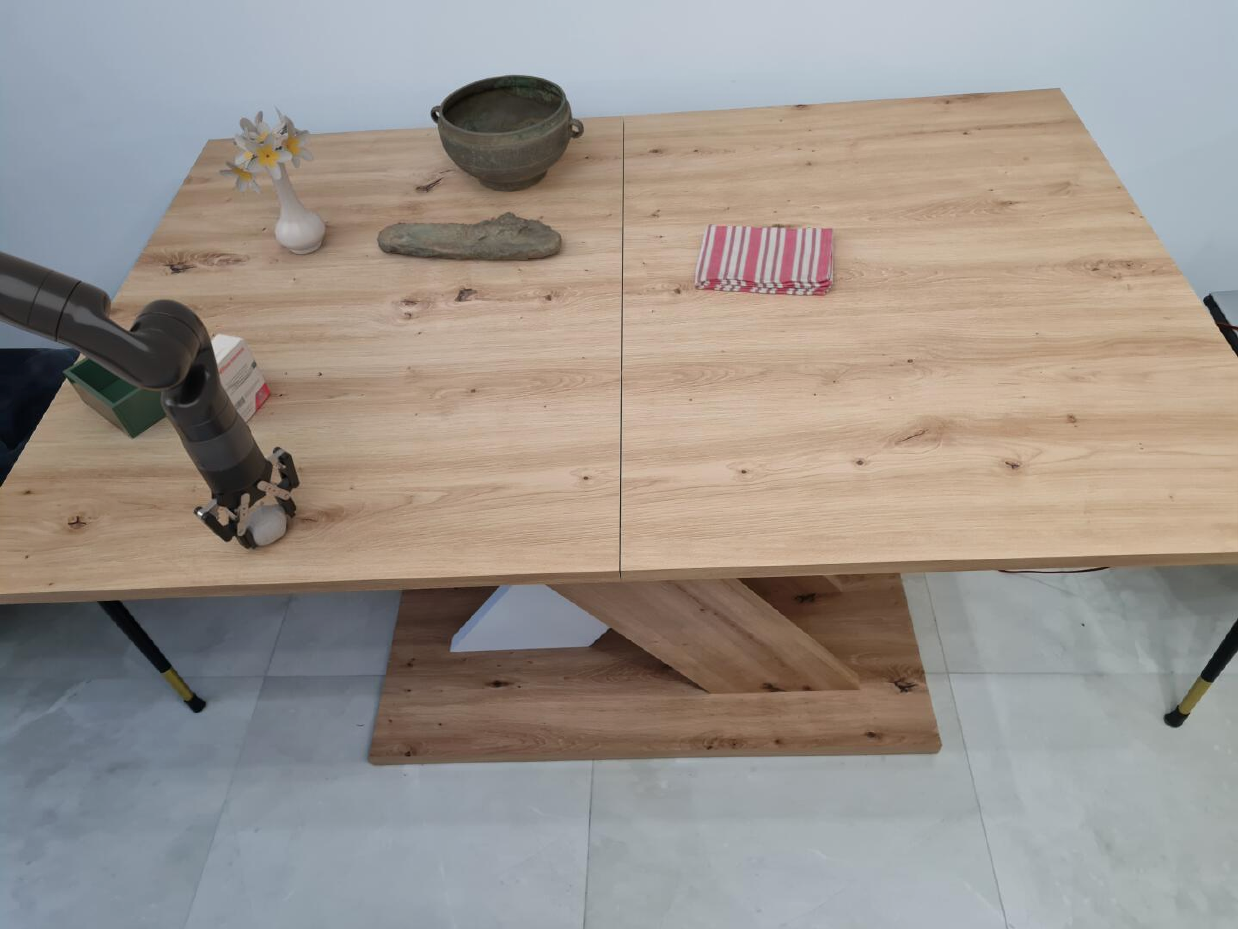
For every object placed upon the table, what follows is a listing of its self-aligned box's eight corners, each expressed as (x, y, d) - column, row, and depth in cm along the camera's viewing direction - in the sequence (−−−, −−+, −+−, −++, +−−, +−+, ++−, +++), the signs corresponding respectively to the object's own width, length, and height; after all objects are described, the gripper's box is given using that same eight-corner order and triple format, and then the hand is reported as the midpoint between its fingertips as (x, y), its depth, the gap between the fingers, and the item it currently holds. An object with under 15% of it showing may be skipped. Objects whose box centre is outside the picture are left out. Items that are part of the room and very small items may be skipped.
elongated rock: (392, 235, 174) (376, 268, 168) (382, 211, 170) (366, 245, 164) (567, 231, 167) (557, 266, 161) (562, 207, 163) (552, 241, 157)
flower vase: (254, 276, 166) (198, 150, 147) (293, 219, 178) (245, 96, 159) (321, 278, 164) (272, 151, 145) (355, 220, 176) (314, 96, 157)
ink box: (247, 387, 145) (217, 330, 136) (272, 393, 144) (244, 336, 135) (214, 424, 140) (181, 367, 131) (240, 430, 138) (209, 373, 130)
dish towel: (832, 297, 150) (834, 280, 147) (692, 290, 154) (692, 273, 151) (833, 238, 161) (835, 221, 159) (703, 233, 165) (703, 216, 162)
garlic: (268, 513, 127) (254, 489, 123) (300, 521, 125) (288, 498, 121) (243, 546, 123) (228, 522, 119) (276, 555, 122) (262, 532, 118)
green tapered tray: (132, 439, 139) (111, 408, 134) (83, 401, 145) (62, 371, 141) (211, 385, 146) (194, 354, 141) (161, 351, 153) (144, 321, 148)
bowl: (608, 147, 188) (602, 76, 177) (566, 216, 172) (557, 143, 160) (467, 134, 196) (453, 65, 185) (415, 199, 180) (396, 128, 168)
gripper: (251, 401, 116) (295, 485, 129) (154, 469, 109) (211, 551, 122) (287, 424, 113) (329, 508, 126) (190, 497, 106) (244, 578, 118)
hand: (270, 529), depth 124 cm, fingers closed on garlic, 6 cm apart
